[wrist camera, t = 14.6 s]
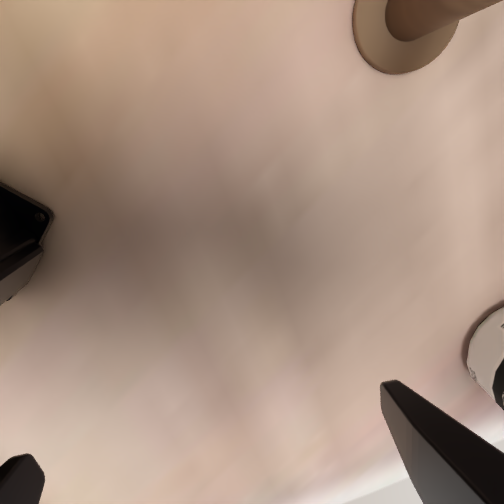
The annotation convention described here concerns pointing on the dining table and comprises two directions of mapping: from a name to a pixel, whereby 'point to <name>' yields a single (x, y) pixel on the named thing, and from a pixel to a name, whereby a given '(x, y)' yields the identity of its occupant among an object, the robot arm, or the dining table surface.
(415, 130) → the dining table surface
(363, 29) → the walnut gate posts
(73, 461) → the dining table surface
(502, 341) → the supplement can
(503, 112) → the dining table surface
